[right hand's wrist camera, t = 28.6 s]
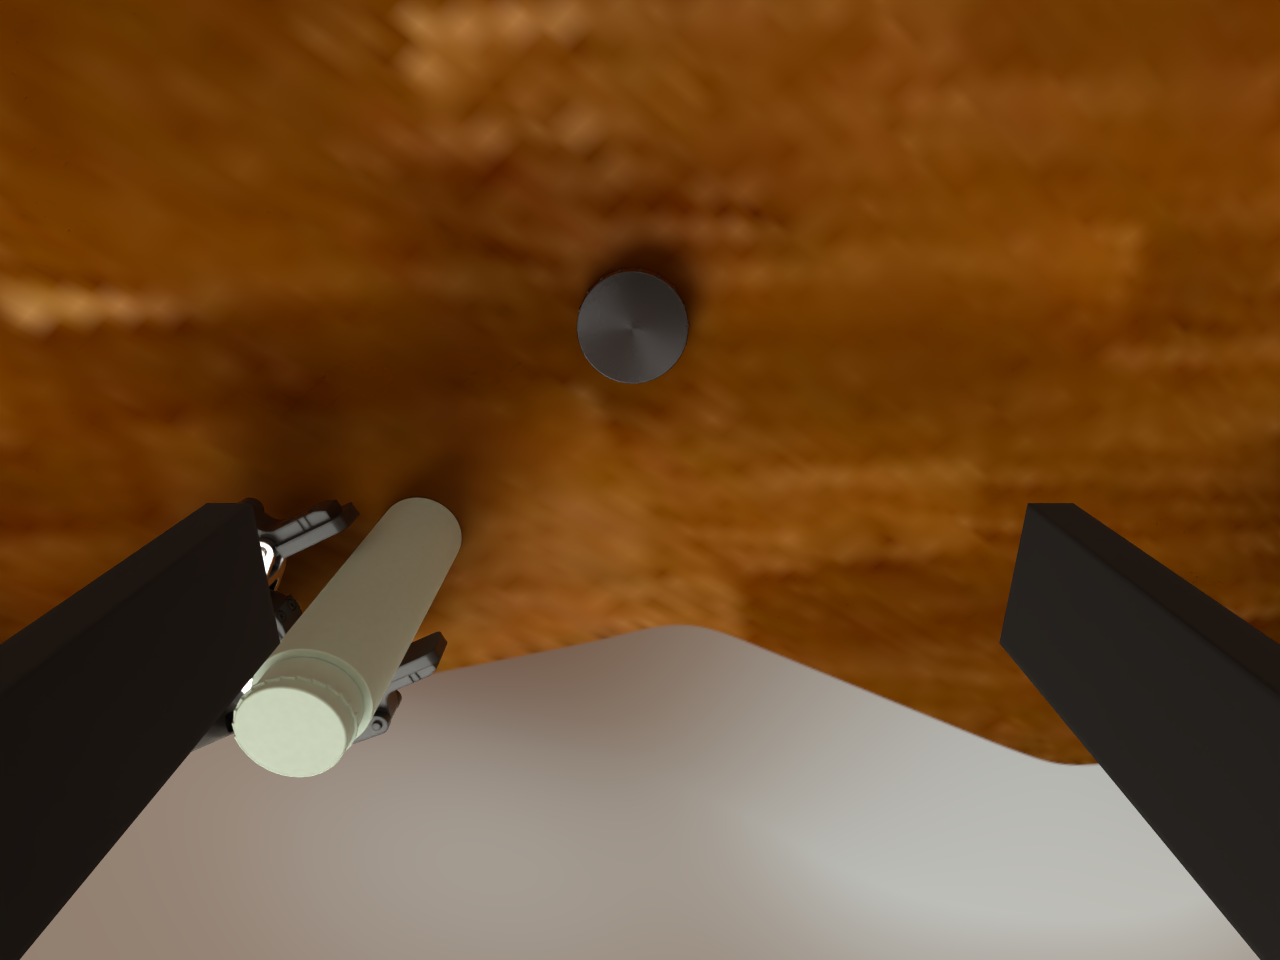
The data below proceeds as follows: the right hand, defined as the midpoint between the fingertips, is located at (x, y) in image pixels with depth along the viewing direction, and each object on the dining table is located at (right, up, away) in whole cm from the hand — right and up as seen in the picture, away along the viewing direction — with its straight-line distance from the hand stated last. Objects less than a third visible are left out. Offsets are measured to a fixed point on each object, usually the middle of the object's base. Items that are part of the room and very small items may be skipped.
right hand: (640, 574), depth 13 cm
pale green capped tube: (-13, -2, +31) cm, 33 cm away
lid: (0, +9, +25) cm, 26 cm away
